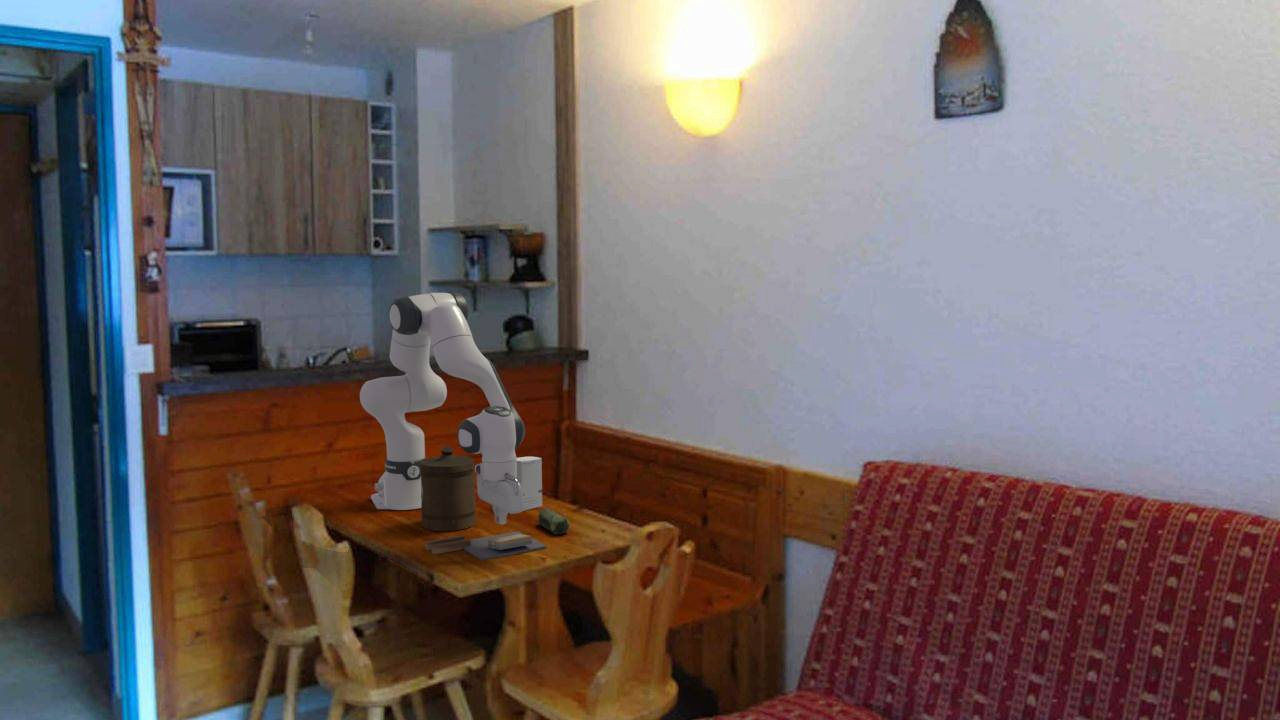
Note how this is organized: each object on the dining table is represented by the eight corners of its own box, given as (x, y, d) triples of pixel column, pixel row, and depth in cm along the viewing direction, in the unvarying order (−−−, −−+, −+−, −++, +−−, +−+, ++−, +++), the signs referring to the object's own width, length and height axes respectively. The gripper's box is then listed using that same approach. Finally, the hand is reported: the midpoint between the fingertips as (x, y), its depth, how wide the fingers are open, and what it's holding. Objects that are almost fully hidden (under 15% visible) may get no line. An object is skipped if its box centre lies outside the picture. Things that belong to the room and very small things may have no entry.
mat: (455, 544, 260) (455, 542, 260) (518, 533, 270) (518, 531, 270) (481, 560, 247) (481, 558, 246) (546, 548, 256) (546, 545, 256)
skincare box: (521, 511, 291) (520, 461, 290) (508, 508, 295) (507, 458, 294) (543, 506, 297) (542, 457, 296) (530, 502, 301) (529, 454, 300)
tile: (487, 539, 255) (498, 542, 249) (519, 534, 260) (531, 536, 254) (488, 547, 255) (499, 550, 249) (519, 541, 260) (531, 543, 254)
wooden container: (444, 514, 289) (442, 439, 286) (486, 521, 282) (484, 444, 279) (410, 527, 276) (408, 449, 273) (453, 534, 269) (451, 454, 266)
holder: (425, 549, 256) (425, 541, 256) (461, 542, 262) (461, 535, 261) (433, 554, 251) (433, 546, 251) (470, 547, 257) (470, 540, 257)
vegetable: (572, 534, 269) (572, 516, 268) (554, 537, 266) (554, 519, 266) (551, 522, 281) (551, 505, 280) (534, 525, 278) (533, 507, 278)
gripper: (529, 476, 249) (530, 530, 250) (494, 462, 266) (495, 512, 267) (506, 479, 245) (507, 534, 247) (471, 465, 262) (473, 516, 264)
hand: (500, 523), depth 257 cm, fingers closed
